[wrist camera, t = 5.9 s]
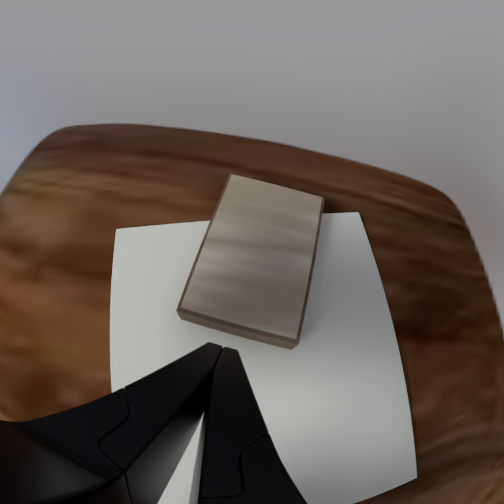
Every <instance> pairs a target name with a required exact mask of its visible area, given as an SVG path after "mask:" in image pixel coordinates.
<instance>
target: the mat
mask: <svg viewBox="0 0 504 504" xmlns="http://www.w3.org/2000/svg"><path fill="white" fill-rule="evenodd" d="M209 223H210V221H199V222H187V223H175V224H164V225H153V226H143V227H133V228H123V229H116V236H115V246H114V256H113V268H112V283H111V304H110V366H111V387H112V393H113V392H115V391H117V390H119V389H121V388H124V387H125V386H127V385H129V384H131V383H133V382H135V381H137V380H139V379H141V378H143V377H145V376H146V375H148V374H150V373H152V372H154V371H156V370H158V369H160V368H162V367H164V366H166V365H167V364H169V363H171V362H173V361H175V360H177V359H179V358H180V357H182V356H184V355H186V354H188V353H190V352H191V351H193V350H195V349H197V348H199V347H200V346H202V345H204V344H206V343H208V342H212V343H215V344H218V345H221V346H222V347H229V348H233V349H236V350H238V352H239V354H240V357H241V360H242V363H243V365H244V368H245V371H246V374H247V376H248V379H249V382H250V384H251V387H252V390H253V392H254V395H255V398H256V400H257V403H258V406H259V408H260V411H261V413H262V416H263V419H264V421H265V424H266V426H267V429H268V431H269V433H268V434H270V436H271V438H272V441H273V443H274V446H275V448H276V450H277V452H278V455H279V457H280V459H281V461H282V463H283V465H284V466H285V468H286V470H287V472H288V473H289V475H290V477H291V479H292V480H293V482H294V483H295V485H296V486H297V488H298V490H299V491H300V493H301V494H302V496H303V497H304V499H305V500H306V502H307V503H308V504H354V503H357V502H360V501H363V500H365V499H368V498H371V497H374V496H376V495H379V494H381V493H384V492H386V491H389V490H391V489H393V488H396V487H398V486H400V485H402V484H405V483H407V482H409V481H411V480H413V479H415V478H417V469H416V456H415V446H414V437H413V429H412V421H411V414H410V407H409V401H408V395H407V389H406V383H405V378H404V372H403V367H402V362H401V357H400V353H399V348H398V344H397V339H396V335H395V331H394V327H393V323H392V319H391V315H390V311H389V307H388V303H387V300H386V296H385V292H384V289H383V285H382V282H381V278H380V275H379V272H378V269H377V265H376V262H375V259H374V256H373V253H372V250H371V247H370V244H369V241H368V238H367V235H366V232H365V229H364V226H363V223H362V220H361V218H360V215H359V212H353V213H328V214H322V220H321V227H320V233H319V239H318V245H317V251H316V257H315V263H314V269H313V274H312V280H311V285H310V291H309V296H308V301H307V306H306V311H305V316H304V321H303V326H302V330H301V335H300V340H299V344H298V345H297V346H296V347H295V348H293V349H292V350H290V349H286V348H282V347H278V346H274V345H270V344H266V343H262V342H258V341H254V340H250V339H246V338H243V337H239V336H235V335H232V334H228V333H225V332H221V331H218V330H214V329H211V328H208V327H204V326H201V325H198V324H194V323H191V322H188V321H185V320H182V319H181V318H180V317H179V315H178V313H177V311H176V310H177V307H178V304H179V301H180V298H181V296H182V293H183V290H184V288H185V285H186V282H187V279H188V277H189V274H190V271H191V269H192V266H193V264H194V261H195V258H196V256H197V253H198V251H199V248H200V245H201V243H202V240H203V238H204V235H205V233H206V230H207V228H208V225H209ZM203 414H204V413H203ZM202 419H203V416H202ZM202 419H201V421H200V423H199V425H198V427H197V429H196V431H195V433H194V435H193V437H192V439H191V441H190V443H189V445H188V447H187V448H186V450H185V452H184V454H183V456H182V458H181V460H180V462H179V464H178V466H177V468H176V470H175V472H174V473H173V475H172V477H171V479H170V481H169V483H168V485H167V487H166V489H165V490H164V492H163V494H162V496H161V498H160V500H159V502H158V503H157V504H189V498H190V492H191V485H192V479H193V472H194V466H195V460H196V454H197V448H198V442H199V436H200V430H201V424H202Z"/></svg>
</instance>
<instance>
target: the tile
mask: <svg viewBox="0 0 504 504" xmlns="http://www.w3.org/2000/svg"><path fill="white" fill-rule="evenodd" d="M324 200H325V198H323V197H320V196H316V195H313V194H309V193H305V192H302V191H298V190H294V189H291V188H287V187H283V186H279V185H275V184H271V183H267V182H263V181H259V180H255V179H251V178H247V177H243V176H238V175H234V174H229V177H228V179H227V181H226V184H225V186H224V189H223V191H222V193H221V196H220V198H219V201H218V203H217V205H216V208H215V210H214V213H213V215H212V218H211V220H210V223H209V225H208V228H207V230H206V233H205V235H204V238H203V240H202V243H201V245H200V248H199V251H198V253H197V256H196V258H195V261H194V264H193V266H192V269H191V271H190V274H189V277H188V279H187V282H186V285H185V288H184V290H183V293H182V296H181V298H180V301H179V304H178V307H177V310H176V311H177V313H178V315H179V317H180V318H181V319H182V320H185V321H188V322H191V323H194V324H198V325H201V326H204V327H208V328H211V329H214V330H218V331H221V332H225V333H228V334H232V335H235V336H239V337H243V338H246V339H250V340H254V341H258V342H262V343H266V344H270V345H274V346H278V347H282V348H286V349H290V350H292V349H293V348H295V347H296V346H297V345H298V344H299V340H300V335H301V330H302V326H303V321H304V316H305V311H306V306H307V301H308V296H309V291H310V285H311V280H312V274H313V269H314V263H315V257H316V251H317V245H318V239H319V233H320V227H321V220H322V213H323V207H324Z"/></svg>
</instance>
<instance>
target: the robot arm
mask: <svg viewBox="0 0 504 504" xmlns="http://www.w3.org/2000/svg"><path fill="white" fill-rule="evenodd" d="M203 413H204V414H203ZM202 416H203V419H202ZM201 419H202V424H201V430H200V436H199V442H198V448H197V454H196V460H195V466H194V472H193V479H192V485H191V492H190V498H189V504H308V503H307V502H306V500H305V499H304V497H303V496H302V494H301V493H300V491H299V490H298V488H297V486H296V485H295V483H294V482H293V480H292V479H291V477H290V475H289V473H288V472H287V470H286V468H285V466H284V465H283V463H282V461H281V459H280V457H279V455H278V452H277V450H276V448H275V446H274V443H273V441H272V438H271V436H270V434H268V433H269V431H268V429H267V426H266V424H265V421H264V419H263V416H262V413H261V411H260V408H259V406H258V403H257V400H256V398H255V395H254V392H253V390H252V387H251V384H250V382H249V379H248V376H247V374H246V371H245V368H244V365H243V363H242V360H241V357H240V354H239V352H238V350H236V349H233V348H229V347H222V346H221V345H218V344H215V343H212V342H208V343H206V344H204V345H202V346H200V347H199V348H197V349H195V350H193V351H191V352H190V353H188V354H186V355H184V356H182V357H180V358H179V359H177V360H175V361H173V362H171V363H169V364H167V365H166V366H164V367H162V368H160V369H158V370H156V371H154V372H152V373H150V374H148V375H146V376H145V377H143V378H141V379H139V380H137V381H135V382H133V383H131V384H129V385H127V386H125V387H124V388H121V389H119V390H117V391H115V392H113V393H110V394H108V395H106V396H104V397H101V398H99V399H97V400H95V401H92V402H89V403H86V404H83V405H81V406H78V407H75V408H72V409H68V410H65V411H62V412H59V413H55V414H52V415H48V416H45V417H41V418H38V419H34V420H29V421H23V422H10V421H3V420H0V504H157V503H158V502H159V500H160V498H161V496H162V494H163V492H164V490H165V489H166V487H167V485H168V483H169V481H170V479H171V477H172V475H173V473H174V472H175V470H176V468H177V466H178V464H179V462H180V460H181V458H182V456H183V454H184V452H185V450H186V448H187V447H188V445H189V443H190V441H191V439H192V437H193V435H194V433H195V431H196V429H197V427H198V425H199V423H200V421H201Z"/></svg>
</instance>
